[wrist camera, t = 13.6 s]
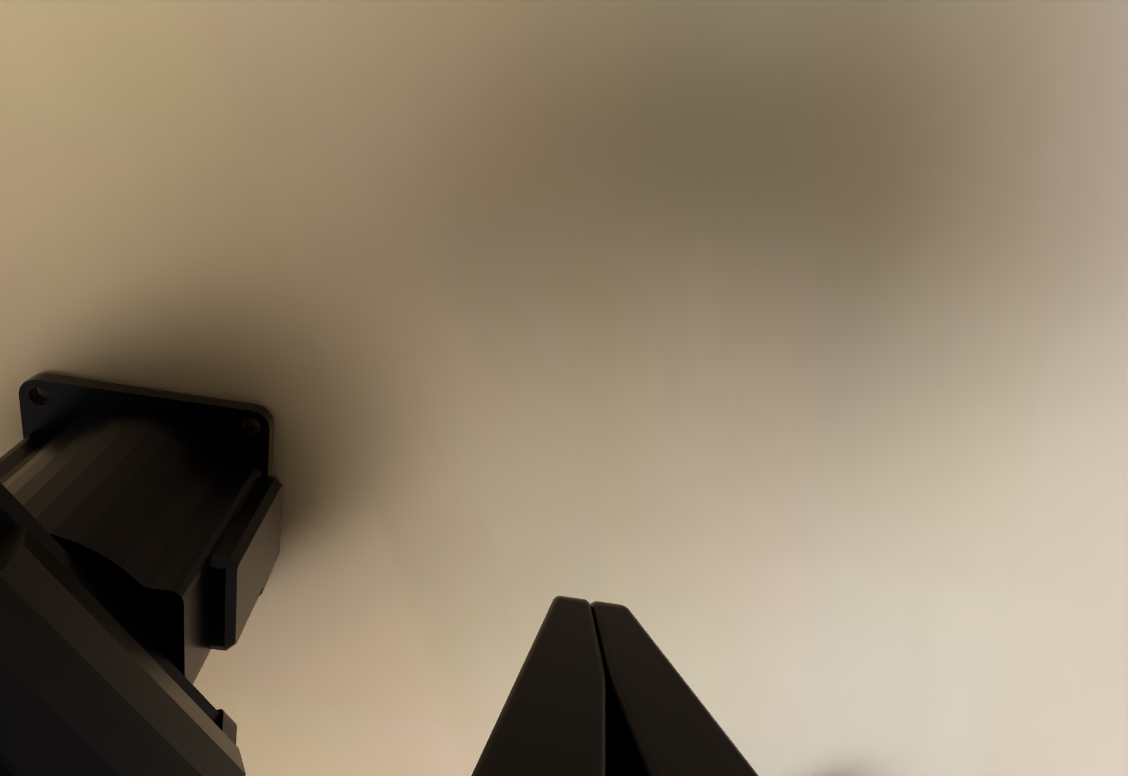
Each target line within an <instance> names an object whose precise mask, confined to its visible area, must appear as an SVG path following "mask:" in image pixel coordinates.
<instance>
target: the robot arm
mask: <svg viewBox="0 0 1128 776" xmlns="http://www.w3.org/2000/svg"><path fill="white" fill-rule="evenodd" d="M37 388H39V389H42V390H44V391H45V392H46V393H47V394H48V396H49V399H46V398H44V397H42V396H41V395H40V394H39V393H38V390H37ZM19 400H20V409H21V419H22V428H23V438H24V439H23V440H22V441H21V442H20V443H18V444H17V445H16V446H15V447H13V448H12V449H11V450H10V451H8V452H7V453H6V454H5V455H3V456H2V457H1V458H0V776H245V774H246V773H245V770H244V766H243V762H242V759H241V755H240V751H239V748H238V747H237V746H236V732H237V725H236V723H235V722H234V721H233V720H232V719H231V718H230V717H229V716H228V715H227V714H226V713H225V711H224V710H222V709H219V710H216V709H215V708H214V707H213V706H212V705H211V704H210V703H209V702H208V701H207V699H206V698H205V697H204V696H203V695H202V694H201V693H200V692H199V691H198V690H197V689H196V688H195V687H194V686H193V683H194V681H195V679H196V677H197V675H198V674H199V672H200V670H201V668H202V666H203V664H204V662H205V660H206V658H207V656H208V654H209V652H210V650H211V649H216V650H225V651H227V650H228V649H229V648H231V647H232V646H233V645H235V644H236V643H237V641H238V639H239V637H240V635H241V633H242V631H243V628H244V626H245V624H246V622H247V620H248V618H249V616H250V614H251V612H252V610H253V607H254V605H255V603H256V601H257V599H258V597H259V596H260V595H261V594H262V592H263V590H264V588H265V586H266V583H267V578H268V576H269V574H270V572H271V569H272V567H273V565H274V563H275V561H276V559H277V557H278V555H279V551H280V531H281V511H282V491H283V485H282V484H281V482H280V481H279V480H278V478H277V477H275V476H272V458H273V435H274V420H273V416H272V415H271V413H270V412H269V410H267V409H266V408H265V407H263V406H260V405H257V404H251V403H244V402H237V401H230V400H223V399H216V398H209V397H202V396H195V395H189V394H182V393H175V392H168V391H161V390H154V389H147V388H140V387H133V386H126V385H120V384H113V383H106V382H99V381H92V380H85V379H78V378H71V377H64V376H57V375H50V374H37V375H35V376H33V377H31V378H30V379H28V380H27V381H25V382H24V383H23V384H22V385H21V387H20V390H19ZM250 418H252V419H254V420H256V421H257V422H258V423H259V424H260V427H261V428H253V427H251V426H250V425H249V424H248V423H247V420H246V419H250ZM472 776H758V774H757V773H756V772H755V771H754V769H753V768H752V767H751V765H750V764H749V763H748V762H747V760H746V759H745V758H744V756H743V755H742V754H741V753H740V751H739V750H738V749H737V747H736V746H735V745H734V744H733V742H732V741H731V740H730V738H729V737H728V736H727V735H726V733H725V732H724V731H723V730H722V728H721V727H720V726H719V724H718V723H717V722H716V721H715V719H714V718H713V717H712V715H711V714H710V713H709V712H708V710H707V709H706V708H705V706H704V705H703V704H702V703H701V701H700V700H699V699H698V697H697V696H696V695H695V694H694V692H693V691H692V690H691V688H690V687H689V686H688V685H687V683H686V682H685V681H684V680H683V678H682V677H681V676H680V674H679V673H678V672H677V671H676V669H675V668H674V667H673V665H672V664H671V663H670V662H669V660H668V659H667V658H666V656H665V655H664V654H663V653H662V651H661V650H660V649H659V647H658V646H657V645H656V644H655V642H654V641H653V640H652V638H651V637H650V636H649V635H648V633H647V632H646V631H645V630H644V628H643V627H642V626H641V624H640V623H639V622H638V621H637V619H636V618H635V617H634V615H633V614H632V613H631V612H630V610H629V609H628V608H627V607H625V606H623V605H619V604H612V603H606V602H599V601H595V602H593V603H591V604H590V603H589V602H588V601H587V600H584V599H578V598H572V597H565V596H557V597H555V598H554V600H553V602H552V604H551V606H550V608H549V610H548V612H547V614H546V617H545V619H544V621H543V623H542V625H541V627H540V629H539V632H538V634H537V636H536V638H535V640H534V642H533V644H532V647H531V649H530V651H529V653H528V655H527V657H526V660H525V662H524V664H523V666H522V668H521V670H520V672H519V675H518V677H517V679H516V681H515V683H514V685H513V687H512V690H511V692H510V694H509V696H508V698H507V700H506V703H505V705H504V707H503V709H502V711H501V713H500V715H499V718H498V720H497V722H496V724H495V726H494V728H493V730H492V733H491V735H490V737H489V739H488V741H487V743H486V746H485V748H484V750H483V752H482V754H481V756H480V758H479V761H478V763H477V765H476V767H475V769H474V771H473V773H472Z"/></svg>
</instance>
